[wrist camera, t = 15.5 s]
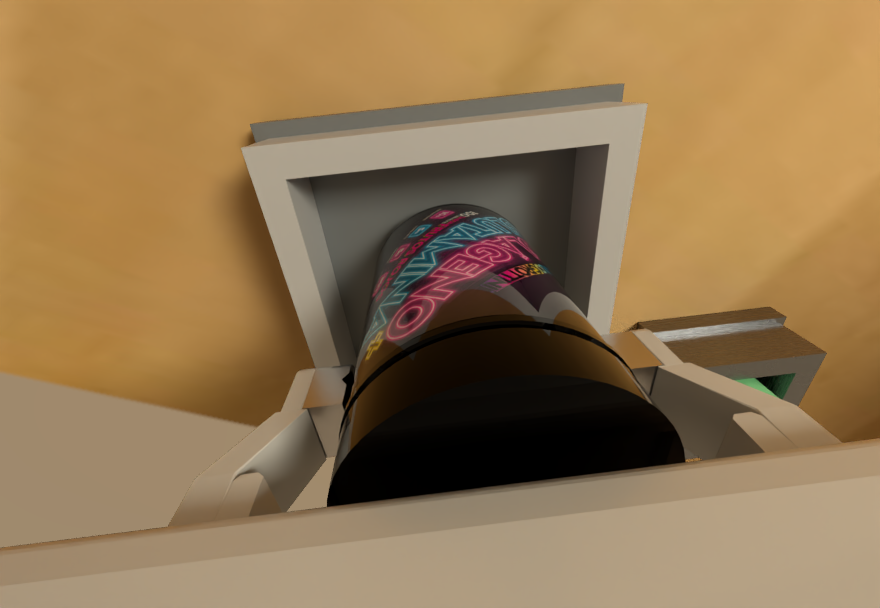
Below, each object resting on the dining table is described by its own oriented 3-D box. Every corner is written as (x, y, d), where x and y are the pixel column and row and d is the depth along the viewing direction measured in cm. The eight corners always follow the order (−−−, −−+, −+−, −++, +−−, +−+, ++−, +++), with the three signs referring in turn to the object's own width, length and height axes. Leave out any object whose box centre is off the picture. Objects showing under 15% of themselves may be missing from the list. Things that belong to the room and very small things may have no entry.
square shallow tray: (610, 84, 14) (668, 81, 11) (577, 359, 20) (607, 406, 17) (260, 122, 13) (216, 130, 10) (341, 387, 20) (328, 440, 17)
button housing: (769, 306, 19) (836, 346, 16) (729, 403, 23) (778, 451, 20) (638, 322, 19) (680, 365, 16) (618, 417, 23) (650, 467, 20)
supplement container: (561, 247, 16) (764, 456, 7) (474, 358, 18) (535, 614, 9) (424, 162, 14) (450, 300, 5) (348, 302, 16) (271, 560, 7)
